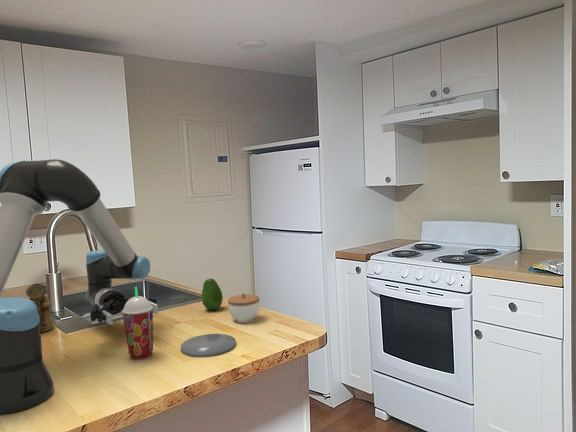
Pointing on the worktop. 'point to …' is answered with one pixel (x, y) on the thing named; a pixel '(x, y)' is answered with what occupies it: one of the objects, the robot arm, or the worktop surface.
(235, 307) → the lidded jar
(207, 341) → the slate plate
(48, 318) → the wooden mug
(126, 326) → the smoothie
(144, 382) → the worktop surface
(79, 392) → the worktop surface
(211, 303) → the avocado
